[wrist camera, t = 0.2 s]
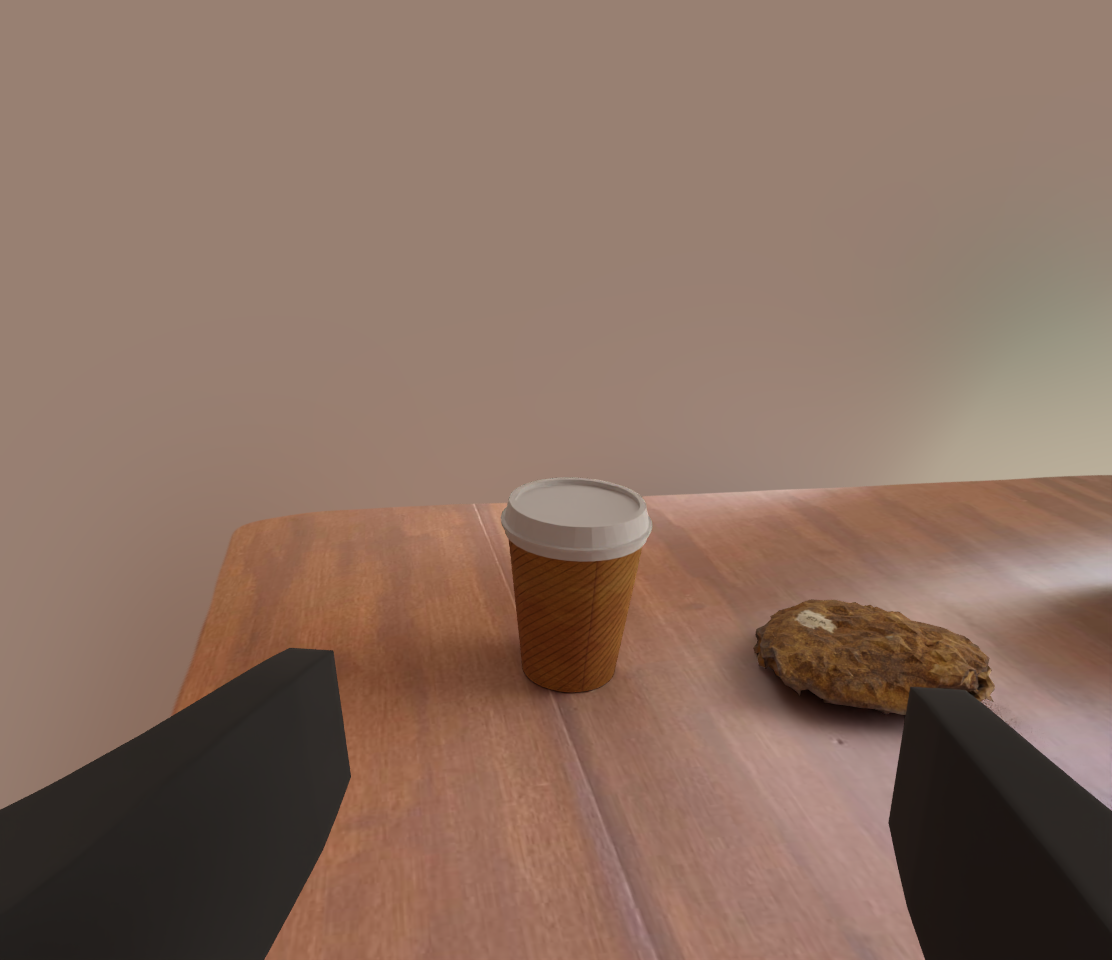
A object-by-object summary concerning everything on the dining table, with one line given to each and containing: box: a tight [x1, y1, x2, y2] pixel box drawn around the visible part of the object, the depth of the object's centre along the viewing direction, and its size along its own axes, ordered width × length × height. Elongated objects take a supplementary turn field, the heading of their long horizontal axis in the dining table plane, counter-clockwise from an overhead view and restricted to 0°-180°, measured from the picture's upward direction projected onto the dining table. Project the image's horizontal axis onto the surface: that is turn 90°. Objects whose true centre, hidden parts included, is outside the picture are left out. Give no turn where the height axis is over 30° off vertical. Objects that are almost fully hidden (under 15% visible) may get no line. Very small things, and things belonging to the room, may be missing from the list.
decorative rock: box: [754, 600, 995, 715], centre depth 53 cm, size 11×4×15 cm
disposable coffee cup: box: [501, 478, 652, 692], centre depth 52 cm, size 10×10×12 cm
